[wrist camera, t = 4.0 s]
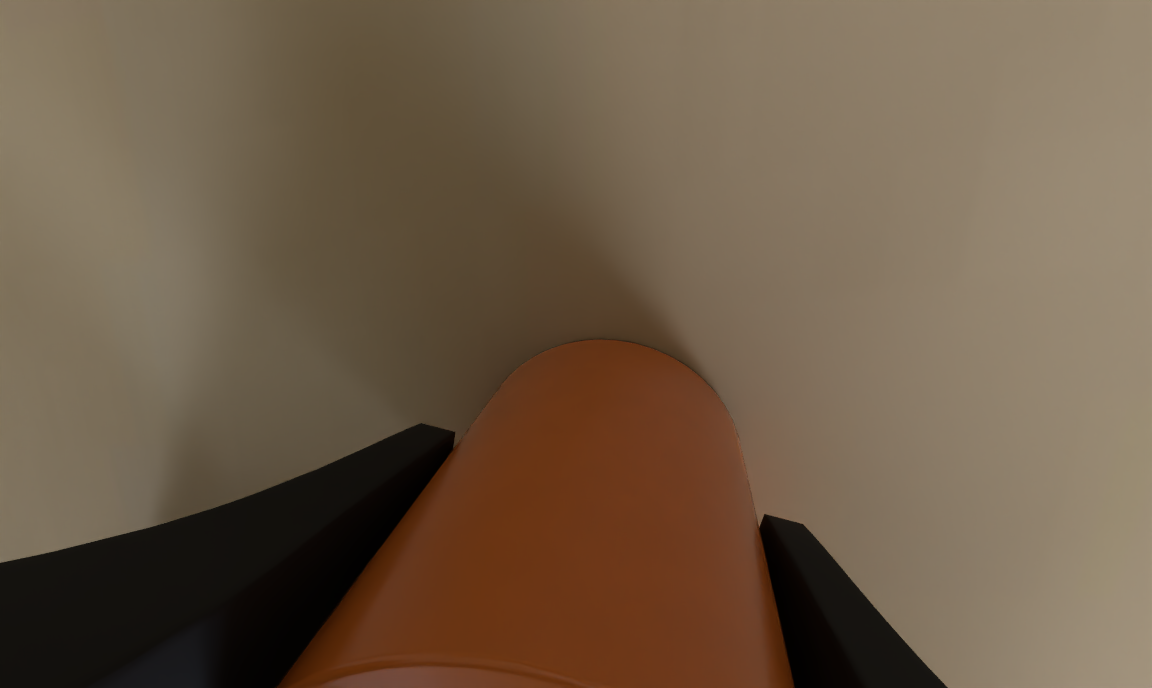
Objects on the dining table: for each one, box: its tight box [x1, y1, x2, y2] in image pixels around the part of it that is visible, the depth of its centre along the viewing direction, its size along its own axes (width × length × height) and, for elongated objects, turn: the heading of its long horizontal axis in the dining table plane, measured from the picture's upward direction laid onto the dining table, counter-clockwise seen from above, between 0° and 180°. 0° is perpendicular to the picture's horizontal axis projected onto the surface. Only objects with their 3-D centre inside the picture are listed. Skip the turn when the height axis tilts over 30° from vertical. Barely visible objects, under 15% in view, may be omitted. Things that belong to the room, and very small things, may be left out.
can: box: [276, 339, 795, 688], centre depth 8 cm, size 5×5×7 cm
